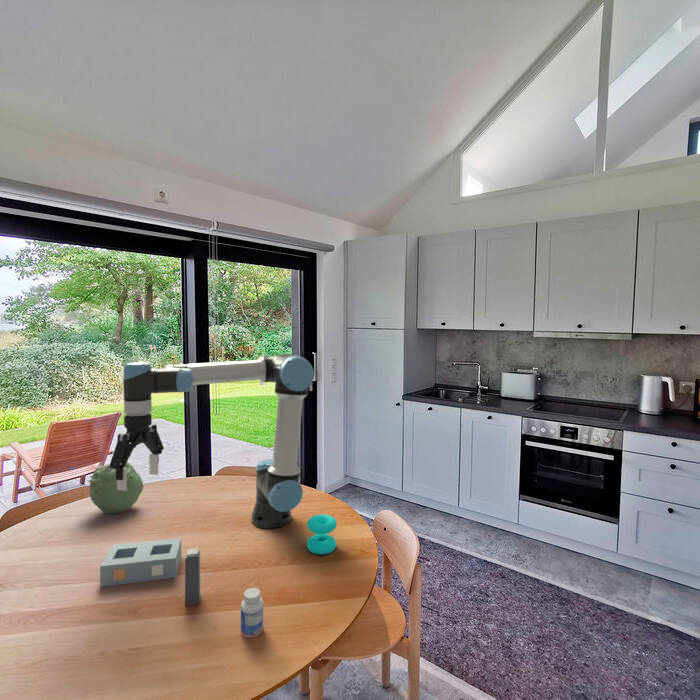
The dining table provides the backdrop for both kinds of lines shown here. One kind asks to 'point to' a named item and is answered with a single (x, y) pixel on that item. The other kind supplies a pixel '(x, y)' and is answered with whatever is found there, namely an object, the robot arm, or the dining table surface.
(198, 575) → the plug
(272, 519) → the robot arm
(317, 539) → the turquoise spool
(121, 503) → the cabbage
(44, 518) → the dining table surface
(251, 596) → the pill bottle
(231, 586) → the dining table surface
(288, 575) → the dining table surface
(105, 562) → the socket block
